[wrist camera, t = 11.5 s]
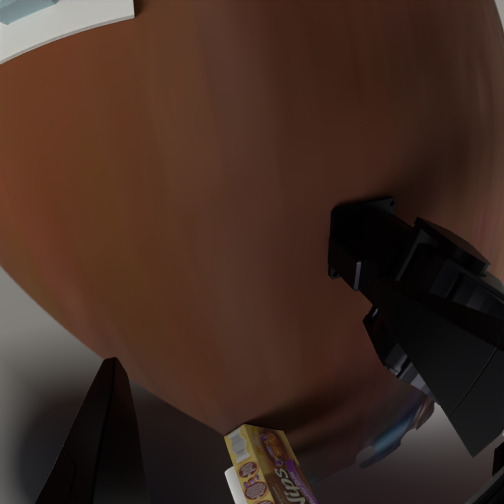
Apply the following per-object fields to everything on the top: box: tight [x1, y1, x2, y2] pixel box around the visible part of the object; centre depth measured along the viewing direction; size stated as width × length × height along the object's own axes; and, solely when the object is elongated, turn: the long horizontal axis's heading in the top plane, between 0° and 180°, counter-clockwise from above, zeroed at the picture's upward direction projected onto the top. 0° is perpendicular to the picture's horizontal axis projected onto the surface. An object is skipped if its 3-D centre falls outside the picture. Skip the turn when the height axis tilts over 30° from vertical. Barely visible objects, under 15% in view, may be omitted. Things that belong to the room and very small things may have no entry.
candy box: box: [224, 424, 318, 504], centre depth 31 cm, size 9×4×15 cm, turn 42°
